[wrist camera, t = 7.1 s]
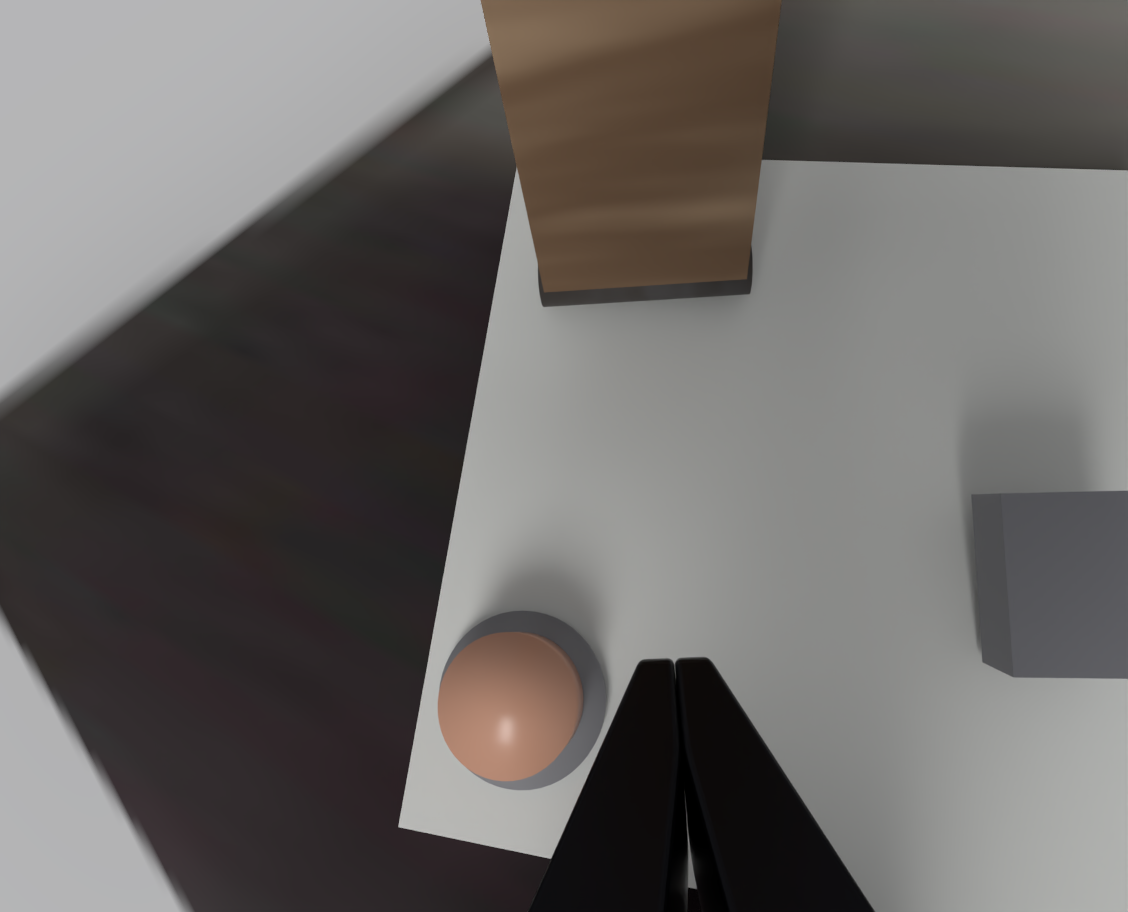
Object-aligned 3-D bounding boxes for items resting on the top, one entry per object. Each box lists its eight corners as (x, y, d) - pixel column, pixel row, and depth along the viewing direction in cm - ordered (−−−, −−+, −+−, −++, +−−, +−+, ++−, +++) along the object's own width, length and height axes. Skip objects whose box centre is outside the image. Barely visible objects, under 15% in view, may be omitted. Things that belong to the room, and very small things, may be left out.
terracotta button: (573, 778, 18) (564, 793, 17) (447, 754, 19) (425, 766, 17) (591, 641, 19) (584, 643, 18) (469, 623, 20) (451, 622, 18)
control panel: (1160, 964, 17) (1225, 1008, 15) (416, 813, 21) (390, 833, 19) (1123, 201, 22) (1169, 158, 20) (527, 179, 26) (515, 141, 24)
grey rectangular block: (1116, 663, 17) (1162, 678, 16) (982, 662, 18) (1013, 677, 16) (1102, 491, 18) (1145, 490, 16) (971, 494, 18) (1000, 493, 17)
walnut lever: (750, 317, 21) (920, -895, 7) (543, 329, 22) (300, -719, 7) (742, 257, 22) (869, -853, 8) (548, 271, 23) (350, -708, 9)
